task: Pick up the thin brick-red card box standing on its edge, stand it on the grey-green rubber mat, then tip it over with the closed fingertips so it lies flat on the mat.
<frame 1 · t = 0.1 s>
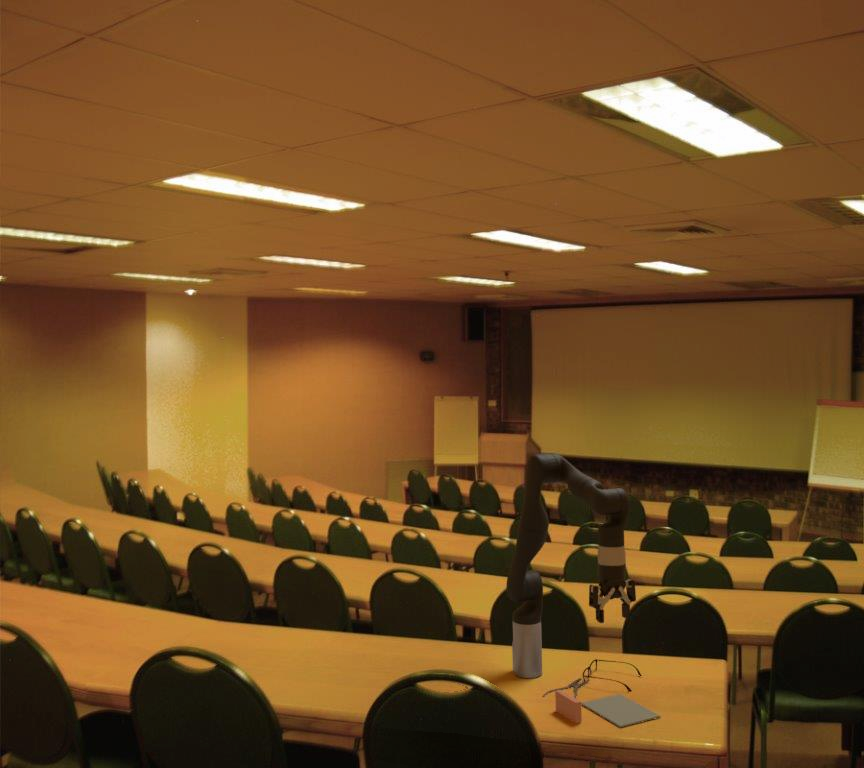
hand: (613, 620, 222), 29 cm above the table, tool pointing down, fingers open, 8 cm apart
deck: (568, 717, 229), on the table
mat: (619, 711, 232), on the table
pliers: (565, 691, 249), on the table, touching eyeglasses
eyeglasses: (612, 681, 255), on the table, touching pliers
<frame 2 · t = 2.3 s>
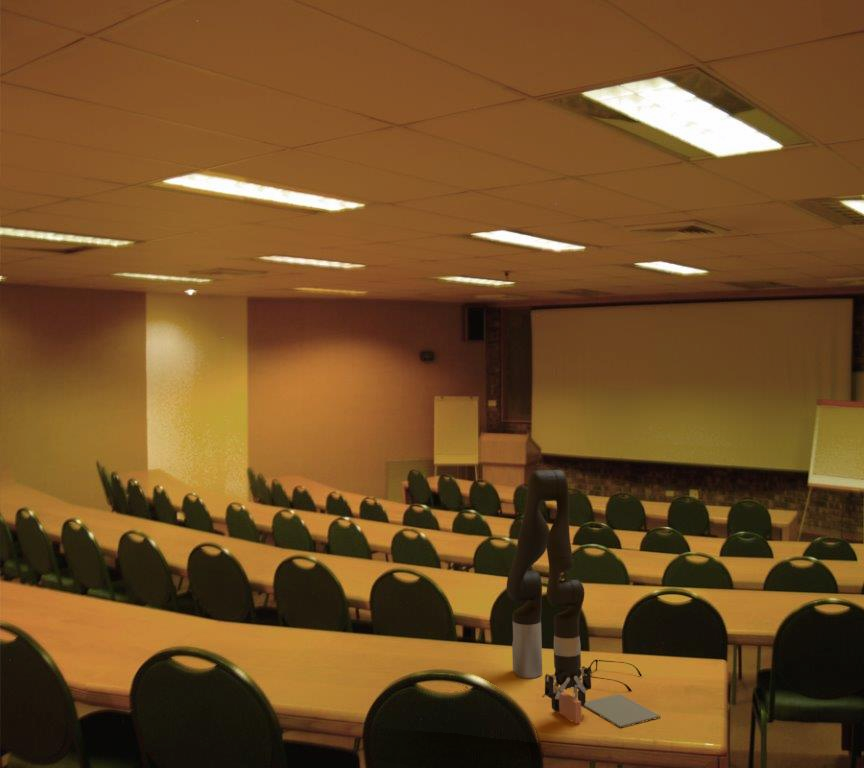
hand: (568, 708, 229), 3 cm above the table, tool pointing down, fingers open, 8 cm apart
pliers: (565, 691, 249), on the table
eyeglasses: (612, 682, 255), on the table
everything else where it was.
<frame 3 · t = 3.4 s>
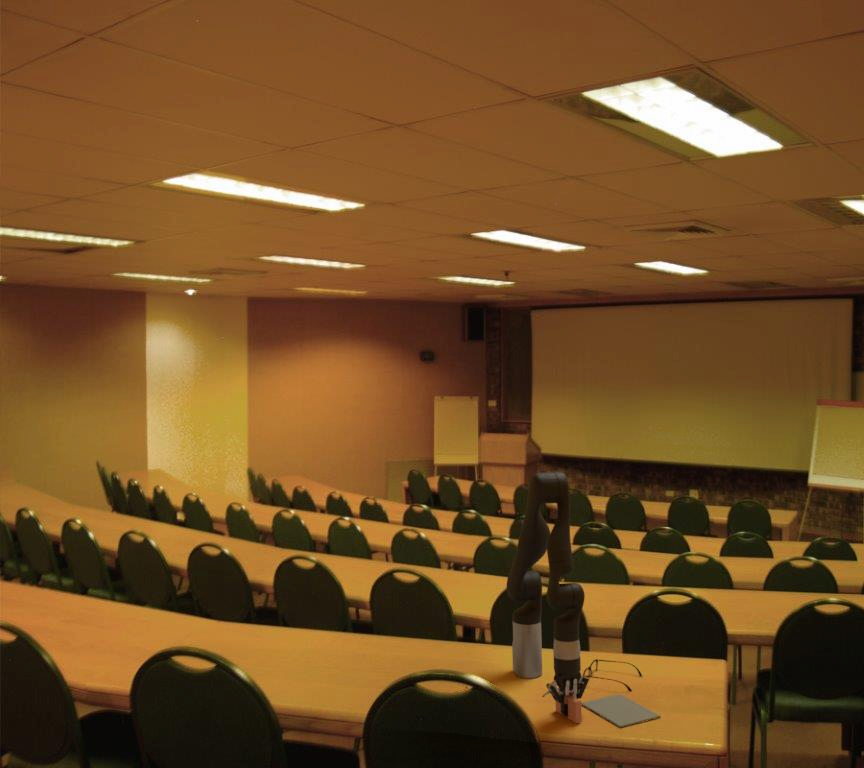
hand: (568, 714, 229), 1 cm above the table, tool pointing down, fingers closed on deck
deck: (568, 716, 229), on the table, touching gripper
everything else where it was.
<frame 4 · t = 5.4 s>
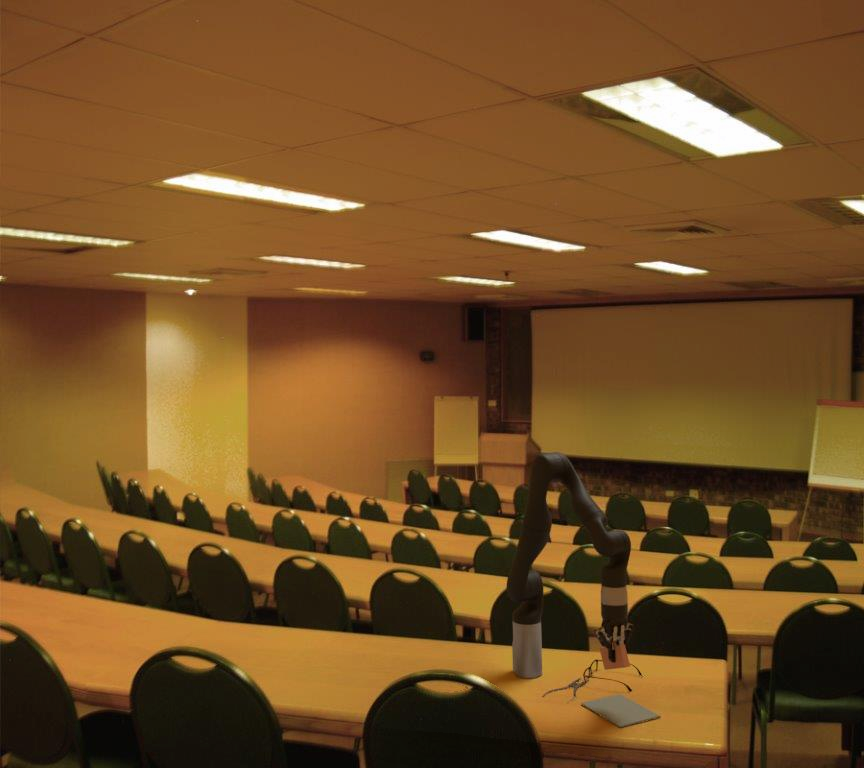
hand: (615, 660, 231), 15 cm above the table, tool pointing down, fingers closed on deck, 1 cm apart
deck: (617, 668, 231), point 13 cm above the table, tilted 21°, touching gripper
pliers: (565, 691, 249), on the table, touching eyeglasses
eyeglasses: (613, 682, 255), on the table, touching pliers
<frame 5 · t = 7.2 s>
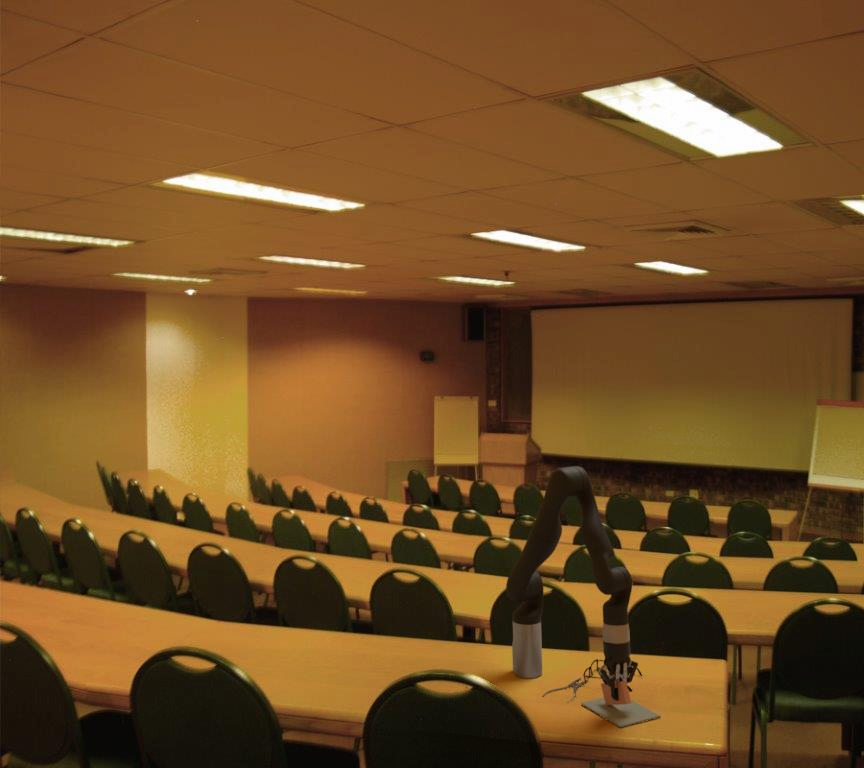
hand: (618, 698, 231), 4 cm above the table, tool pointing down, fingers closed on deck, 1 cm apart
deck: (618, 704, 231), point 2 cm above the table, tilted 21°, touching gripper
everything else where it was.
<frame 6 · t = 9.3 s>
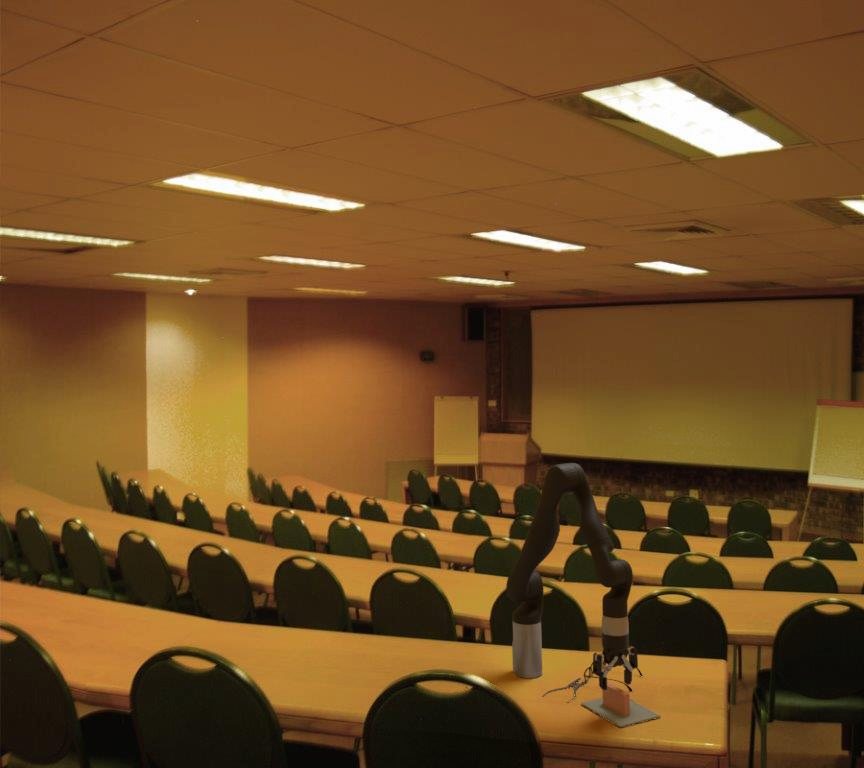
hand: (615, 686, 232), 7 cm above the table, tool pointing down, fingers open, 8 cm apart
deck: (616, 709, 232), point 1 cm above the table, touching mat
everything else where it was.
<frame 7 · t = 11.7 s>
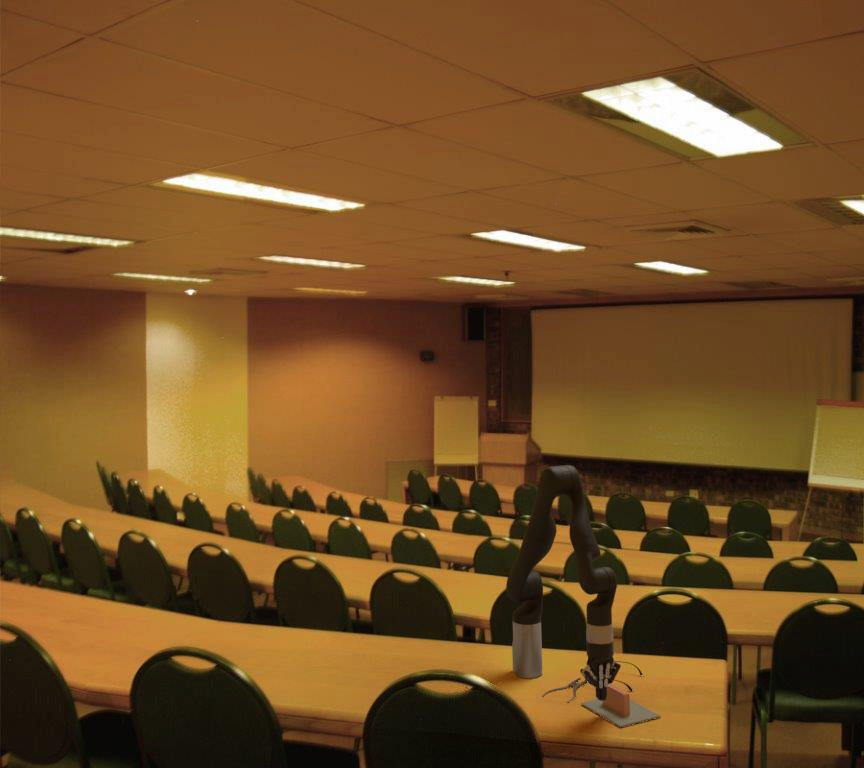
hand: (601, 699, 229), 5 cm above the table, tool pointing down, fingers closed
nothing on the table moved.
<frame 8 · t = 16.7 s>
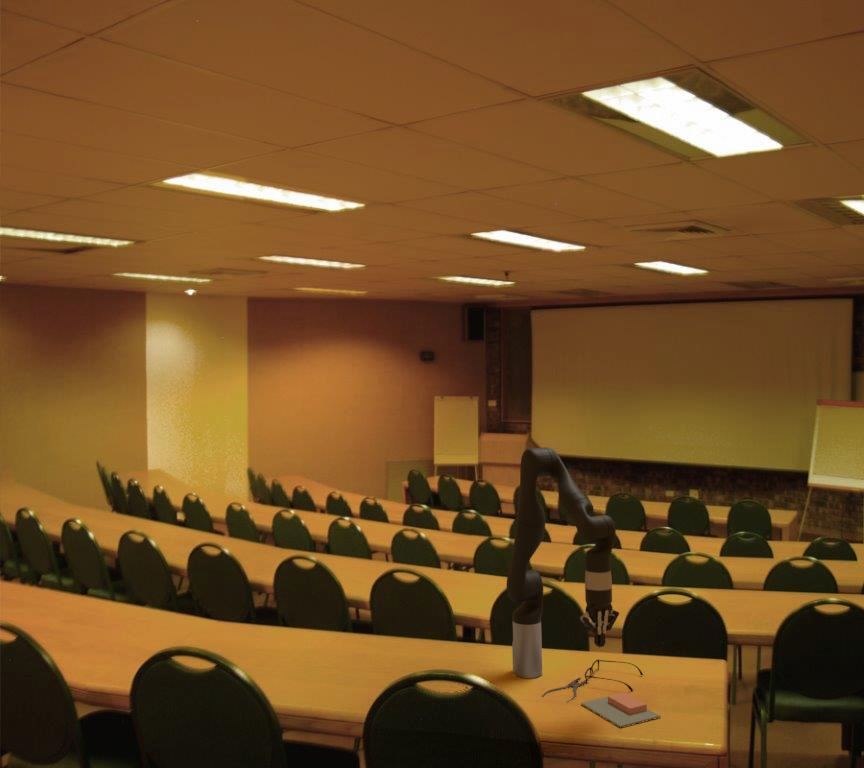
hand: (599, 646, 231), 19 cm above the table, tool pointing down, fingers closed
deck: (618, 705, 232), point 1 cm above the table, tilted 90°, touching mat
pliers: (565, 691, 249), on the table
eyeglasses: (614, 682, 256), on the table
at the end: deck tilted 90°; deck inside the target area (0.5 cm from its centre), point 1.5 cm above the table; the gripper is holding nothing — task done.
